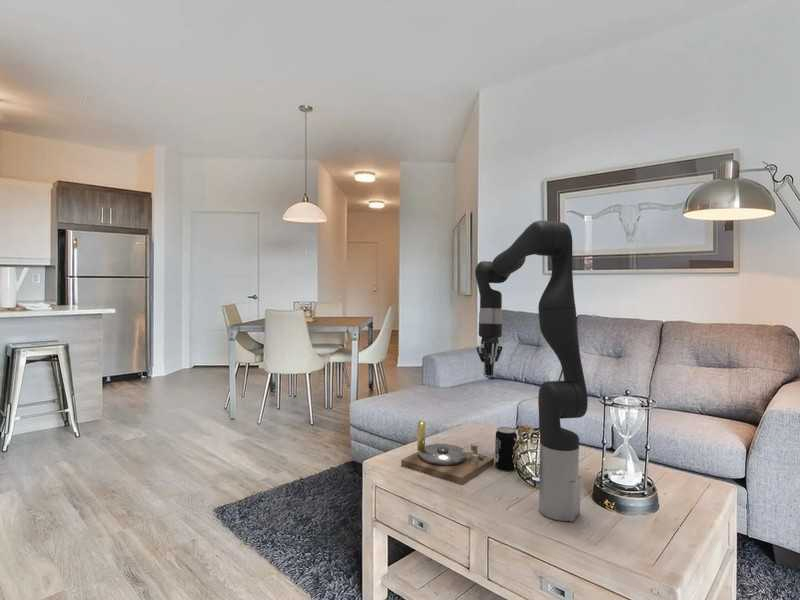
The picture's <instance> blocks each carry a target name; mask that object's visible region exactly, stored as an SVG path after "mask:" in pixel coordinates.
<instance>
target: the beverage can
mask: <svg viewBox="0 0 800 600" xmlns="http://www.w3.org/2000/svg"><path fill="white" fill-rule="evenodd" d="M516 442H517V443H518V433H516V429H515V428H513V427H509V426H499V427H498V428H496V432H495V445H494V446H495V447H494V465H495V466H496V468H497V469H498V470H500V469H501V470H500V471H504V470H508V471H507V472H509V470H511V471H514V470H515V469H514V468H515V467H514V462H513V458H512V455H513V447H514V445H515V443H516ZM513 469H514V470H513Z"/></svg>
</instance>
